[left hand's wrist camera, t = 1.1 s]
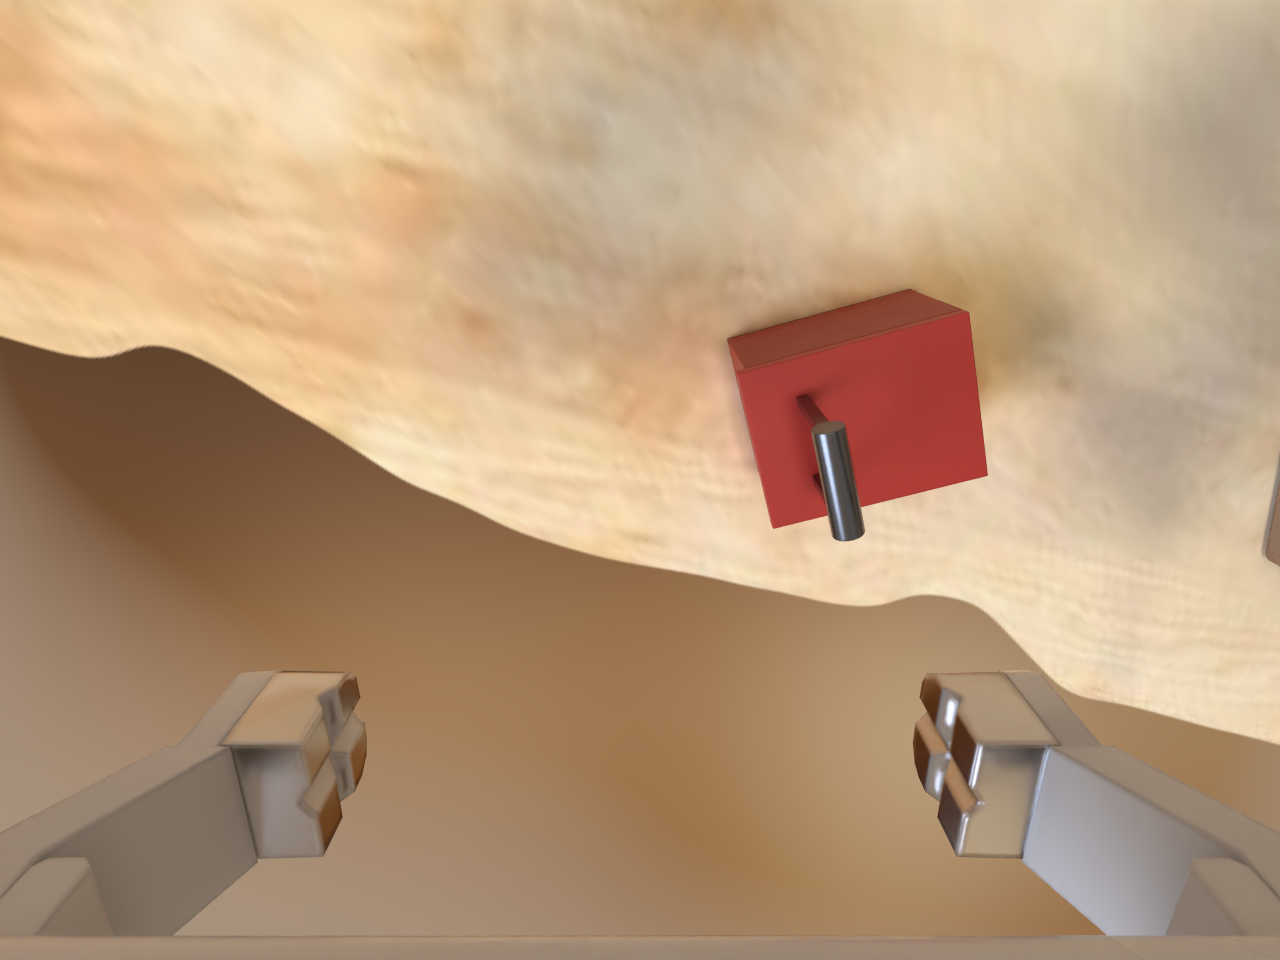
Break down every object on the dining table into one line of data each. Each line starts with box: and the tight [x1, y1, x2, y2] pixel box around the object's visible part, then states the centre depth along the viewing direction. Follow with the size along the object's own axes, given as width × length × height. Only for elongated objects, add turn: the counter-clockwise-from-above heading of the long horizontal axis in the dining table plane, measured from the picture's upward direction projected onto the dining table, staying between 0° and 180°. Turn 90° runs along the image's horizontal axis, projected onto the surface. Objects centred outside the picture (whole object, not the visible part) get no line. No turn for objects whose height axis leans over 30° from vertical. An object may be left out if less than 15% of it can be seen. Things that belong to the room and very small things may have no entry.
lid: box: [735, 310, 988, 541], centre depth 40 cm, size 13×10×8 cm
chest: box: [727, 289, 962, 472], centre depth 48 cm, size 13×10×9 cm
